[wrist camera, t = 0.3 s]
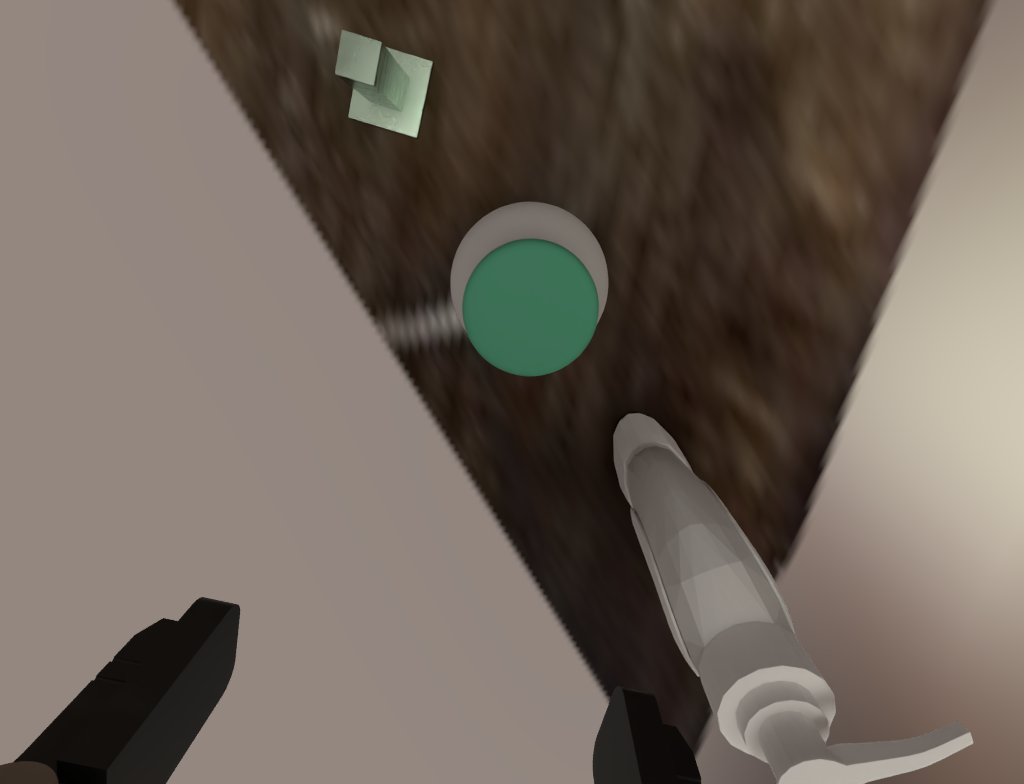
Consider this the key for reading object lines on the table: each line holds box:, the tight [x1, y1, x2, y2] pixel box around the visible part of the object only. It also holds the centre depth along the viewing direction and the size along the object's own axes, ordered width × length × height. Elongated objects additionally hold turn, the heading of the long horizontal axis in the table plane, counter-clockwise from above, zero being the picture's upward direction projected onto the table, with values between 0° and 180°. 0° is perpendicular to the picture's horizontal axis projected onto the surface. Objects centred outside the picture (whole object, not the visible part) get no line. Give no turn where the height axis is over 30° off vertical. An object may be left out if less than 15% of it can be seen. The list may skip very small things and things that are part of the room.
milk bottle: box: [451, 202, 608, 376], centre depth 27 cm, size 8×8×20 cm
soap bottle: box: [613, 413, 973, 784], centre depth 29 cm, size 13×8×24 cm, turn 25°
